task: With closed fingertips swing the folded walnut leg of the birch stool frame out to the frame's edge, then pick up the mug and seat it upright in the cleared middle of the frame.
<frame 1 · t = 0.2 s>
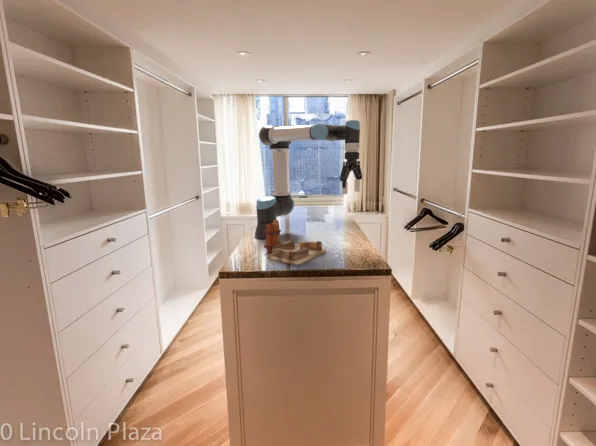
hand: (351, 192, 171), 28 cm above the worktop, fingers open, 13 cm apart
seat: (297, 254, 158), on the worktop
leg: (310, 245, 161), point 4 cm above the worktop, hinge at 0.0°
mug: (274, 250, 166), on the worktop
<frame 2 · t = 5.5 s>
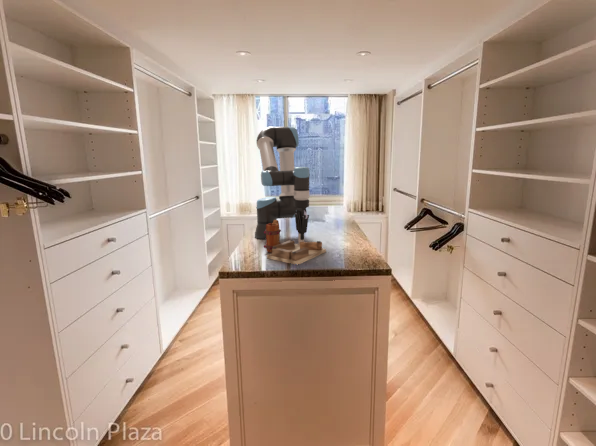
hand: (301, 245, 163), 3 cm above the worktop, fingers closed
leg: (310, 245, 161), point 4 cm above the worktop, hinge at 4.5°, touching gripper
everything else where it was.
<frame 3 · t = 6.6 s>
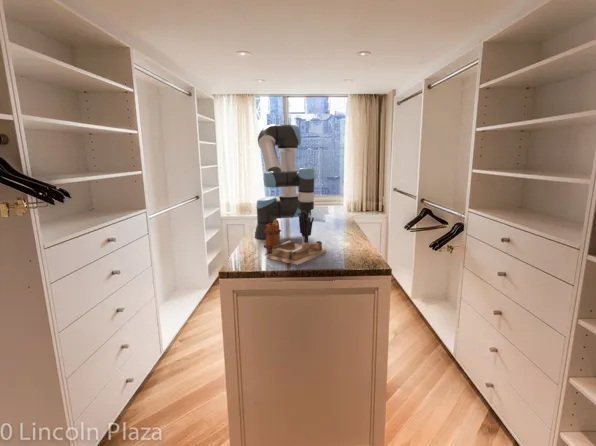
hand: (305, 248, 159), 3 cm above the worktop, fingers closed
leg: (312, 246, 158), point 4 cm above the worktop, hinge at 42.2°, touching gripper
everything else where it was.
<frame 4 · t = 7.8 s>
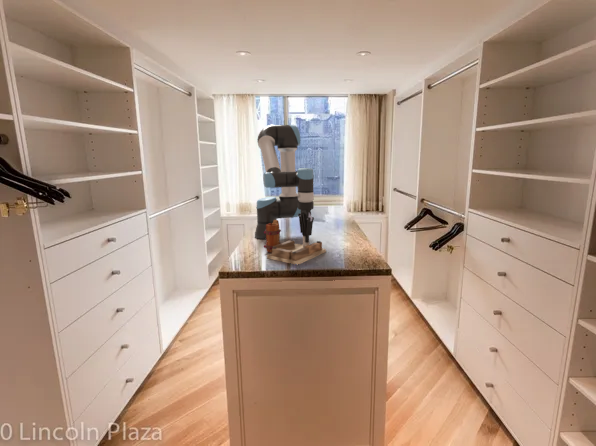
hand: (305, 248, 160), 3 cm above the worktop, fingers closed
leg: (314, 247, 158), point 4 cm above the worktop, hinge at 56.5°
everything else where it was.
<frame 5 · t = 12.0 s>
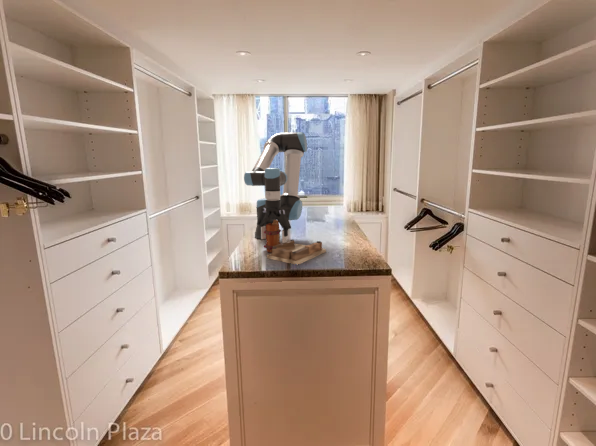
hand: (273, 240, 165), 5 cm above the worktop, fingers open, 13 cm apart
nothing on the worktop moved.
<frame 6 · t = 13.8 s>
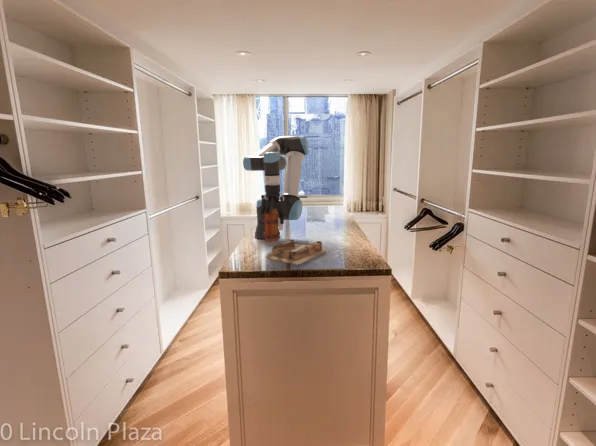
hand: (274, 228, 164), 11 cm above the worktop, fingers closed on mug, 8 cm apart
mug: (273, 239, 166), point 5 cm above the worktop, touching gripper
everything else where it was.
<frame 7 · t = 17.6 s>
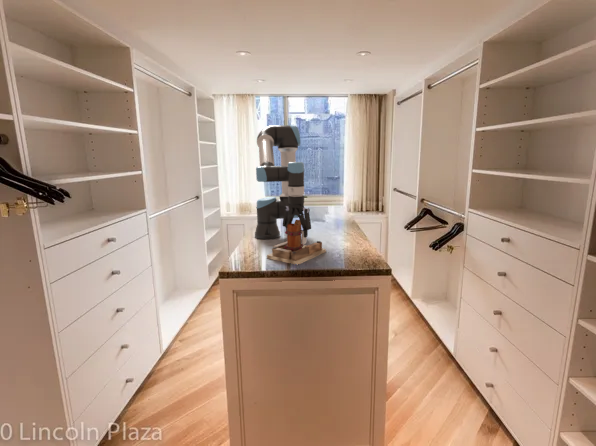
hand: (296, 242, 156), 6 cm above the worktop, fingers closed on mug, 8 cm apart
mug: (295, 252, 158), point 1 cm above the worktop, touching gripper, seat
everything else where it was.
when the fingers open (6 cm above the worktop, at t = 17.8 s): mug stays where it is, resting on seat.
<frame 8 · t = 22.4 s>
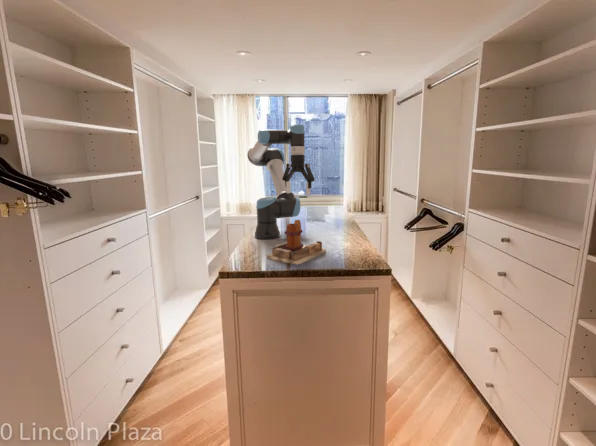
hand: (298, 193, 178), 27 cm above the worktop, fingers open, 13 cm apart
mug: (295, 252, 158), point 1 cm above the worktop, touching seat
everything else where it was.
at the end: leg at +56° (first picture: +0°); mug 0.9 cm from the seat (horizontally); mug tilted 0° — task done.
